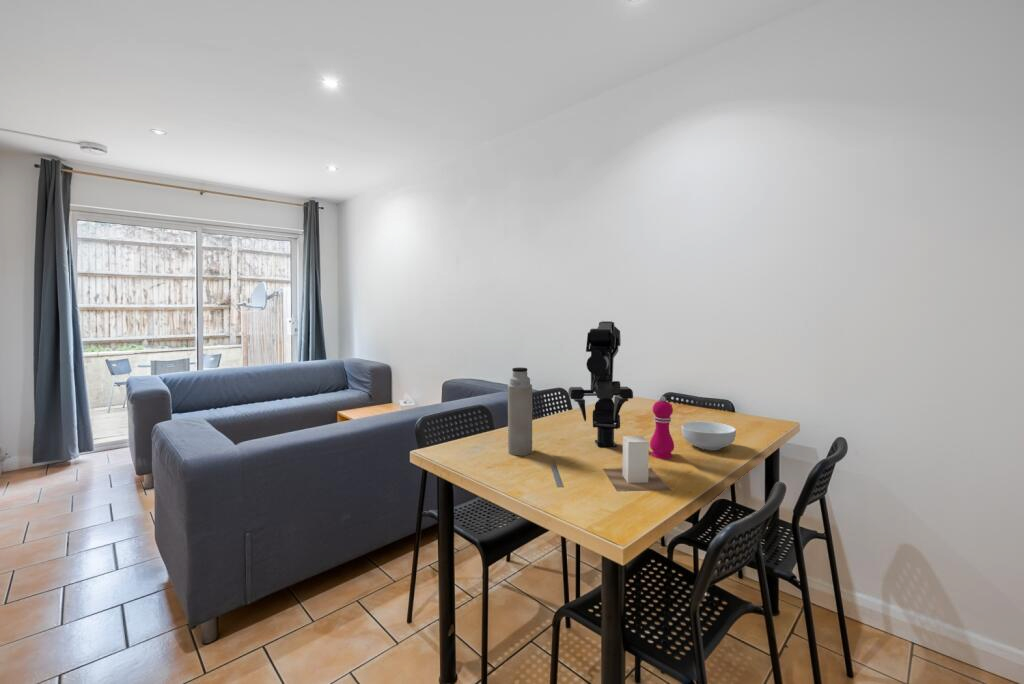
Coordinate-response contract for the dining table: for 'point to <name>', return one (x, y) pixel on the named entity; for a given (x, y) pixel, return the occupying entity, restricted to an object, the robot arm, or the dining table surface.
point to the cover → (635, 459)
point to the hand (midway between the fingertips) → (599, 420)
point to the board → (622, 485)
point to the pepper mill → (662, 430)
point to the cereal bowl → (708, 434)
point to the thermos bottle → (520, 413)
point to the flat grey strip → (557, 476)
